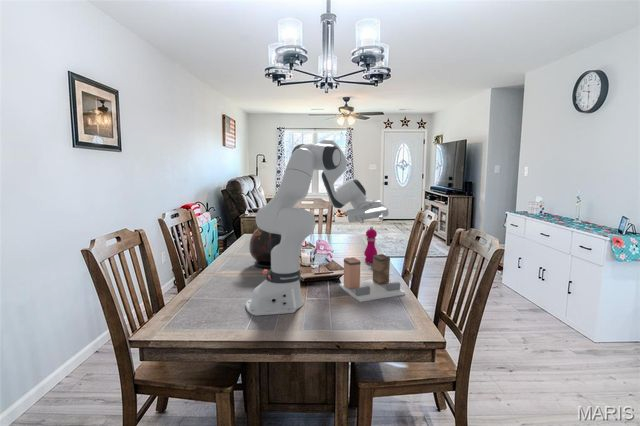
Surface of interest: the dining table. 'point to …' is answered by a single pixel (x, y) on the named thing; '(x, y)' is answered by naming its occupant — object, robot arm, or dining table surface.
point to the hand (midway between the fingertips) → (372, 220)
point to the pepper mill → (370, 245)
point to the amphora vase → (263, 247)
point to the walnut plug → (381, 268)
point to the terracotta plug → (352, 272)
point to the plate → (374, 290)
